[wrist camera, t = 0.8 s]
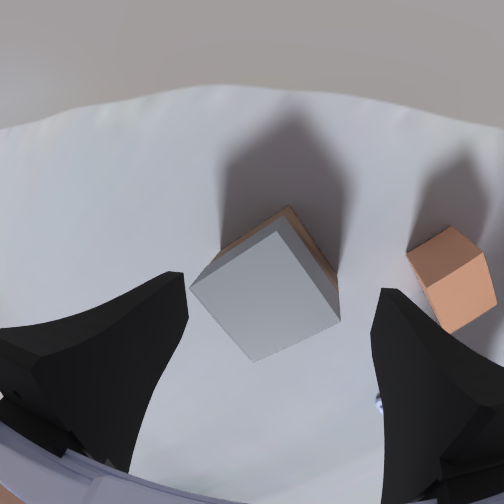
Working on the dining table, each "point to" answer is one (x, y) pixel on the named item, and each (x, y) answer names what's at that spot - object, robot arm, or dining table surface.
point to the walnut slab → (300, 232)
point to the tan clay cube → (453, 278)
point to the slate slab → (268, 292)
